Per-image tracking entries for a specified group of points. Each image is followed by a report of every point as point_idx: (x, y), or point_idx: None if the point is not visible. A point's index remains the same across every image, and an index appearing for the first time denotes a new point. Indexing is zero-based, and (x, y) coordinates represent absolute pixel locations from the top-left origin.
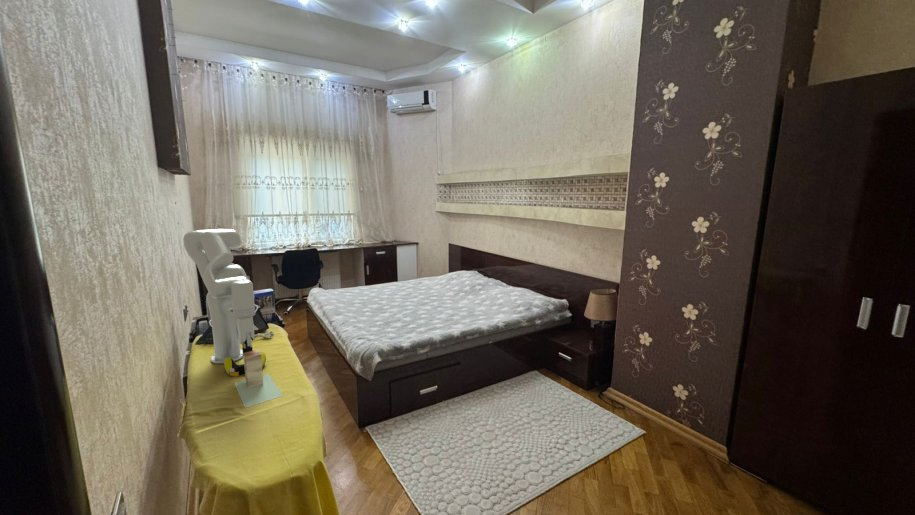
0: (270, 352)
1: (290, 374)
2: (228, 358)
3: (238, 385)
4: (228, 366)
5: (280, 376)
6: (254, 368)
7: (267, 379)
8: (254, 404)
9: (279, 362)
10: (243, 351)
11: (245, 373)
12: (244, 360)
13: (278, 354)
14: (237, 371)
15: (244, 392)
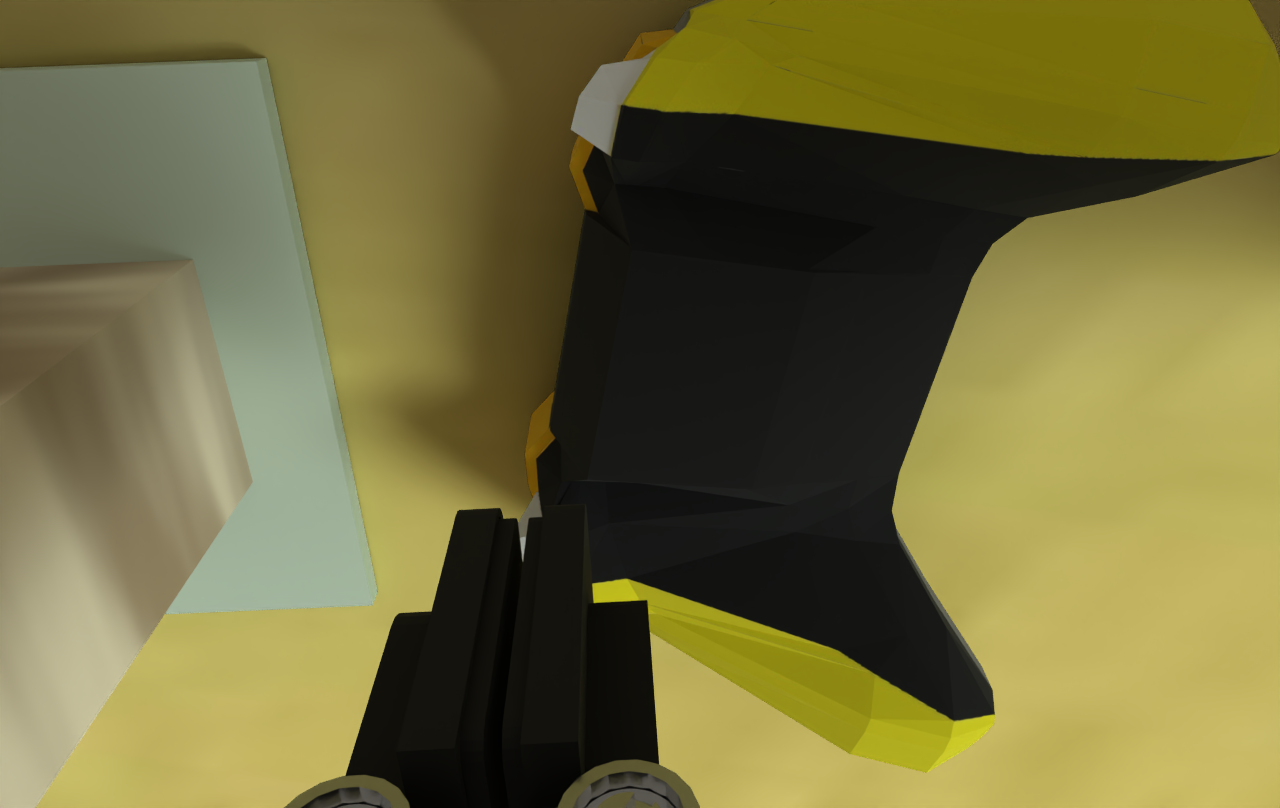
0: (1219, 723)
1: (253, 797)
2: (1179, 103)
3: (114, 124)
4: (855, 44)
5: (249, 699)
6: None
7: None
8: None
9: (748, 758)
10: (419, 660)
11: (5, 350)
12: None
13: (1047, 789)
14: (596, 196)
15: None
